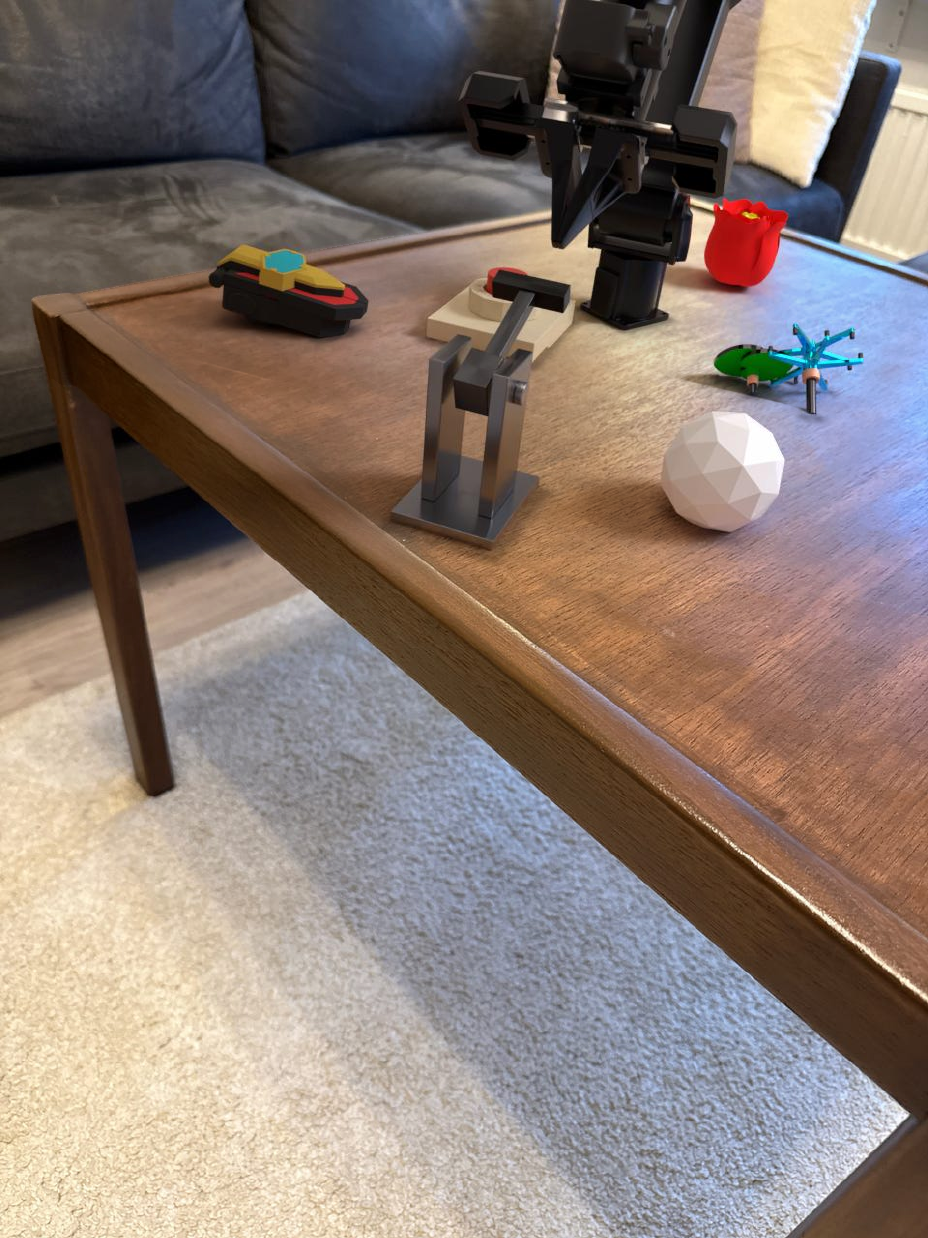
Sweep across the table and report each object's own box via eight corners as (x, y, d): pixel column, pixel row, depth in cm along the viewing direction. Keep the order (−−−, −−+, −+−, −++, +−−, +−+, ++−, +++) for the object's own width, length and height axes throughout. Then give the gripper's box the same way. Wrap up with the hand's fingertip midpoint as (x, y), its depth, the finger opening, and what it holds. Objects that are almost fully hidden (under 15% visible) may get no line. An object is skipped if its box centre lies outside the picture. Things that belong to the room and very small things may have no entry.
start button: (494, 283, 87) (496, 263, 86) (531, 291, 86) (533, 272, 85) (480, 295, 84) (481, 275, 83) (517, 303, 84) (520, 283, 82)
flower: (778, 284, 105) (800, 208, 100) (755, 302, 99) (777, 223, 94) (711, 266, 108) (729, 192, 103) (686, 283, 102) (703, 205, 97)
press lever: (499, 291, 64) (498, 261, 62) (569, 307, 63) (571, 277, 61) (434, 402, 59) (430, 373, 57) (509, 422, 57) (509, 393, 55)
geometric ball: (699, 570, 65) (690, 519, 58) (649, 479, 68) (634, 421, 61) (804, 520, 64) (807, 462, 57) (748, 430, 67) (744, 365, 60)
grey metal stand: (445, 465, 67) (457, 317, 61) (537, 491, 66) (560, 342, 59) (390, 526, 61) (396, 367, 54) (491, 557, 59) (510, 397, 52)
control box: (475, 300, 93) (479, 259, 91) (572, 323, 91) (578, 281, 88) (425, 341, 84) (428, 297, 82) (531, 367, 82) (537, 322, 79)
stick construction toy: (859, 363, 83) (865, 309, 76) (861, 435, 80) (868, 385, 73) (717, 375, 86) (710, 324, 79) (715, 443, 84) (708, 398, 77)
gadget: (348, 360, 83) (358, 299, 79) (204, 314, 83) (208, 251, 79) (368, 333, 88) (379, 275, 84) (232, 290, 88) (237, 230, 84)
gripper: (482, -75, 60) (400, 144, 59) (776, -39, 56) (694, 200, 54) (510, 54, 71) (441, 243, 70) (758, 94, 66) (690, 296, 65)
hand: (556, 245), depth 64 cm, fingers closed
